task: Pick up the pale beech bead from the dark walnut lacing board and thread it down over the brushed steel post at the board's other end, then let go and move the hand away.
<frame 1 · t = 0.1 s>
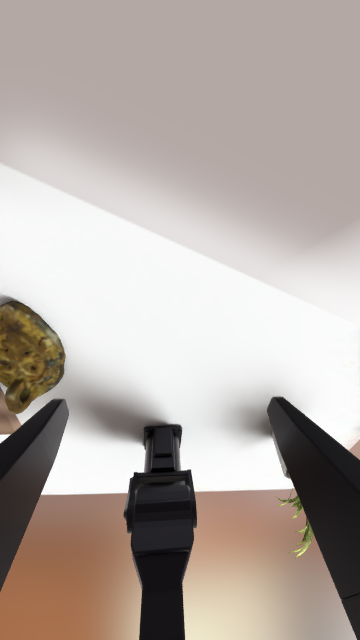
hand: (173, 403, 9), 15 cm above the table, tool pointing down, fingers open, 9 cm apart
olive gold carved ornament: (28, 351, 25), on the table
house plant: (279, 428, 37), on the table
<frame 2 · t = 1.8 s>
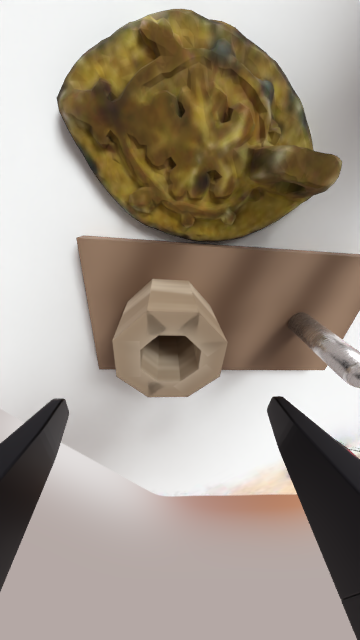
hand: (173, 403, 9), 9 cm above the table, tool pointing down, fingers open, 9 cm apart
lacing board: (225, 312, 17), on the table
olive gold carved ornament: (197, 156, 12), on the table
steel post: (290, 314, 18), resting on lacing board
beech bead: (168, 317, 15), point 1 cm above the table, touching lacing board
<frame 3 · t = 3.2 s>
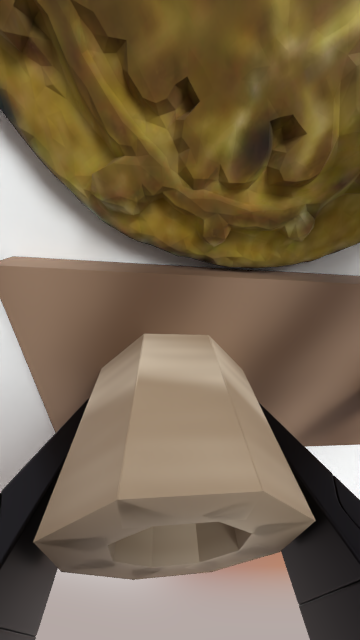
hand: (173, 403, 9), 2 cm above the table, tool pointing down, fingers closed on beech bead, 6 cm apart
lacing board: (262, 371, 11), on the table
olive gold carved ornament: (238, 99, 6), on the table
beech bead: (172, 388, 9), point 1 cm above the table, touching gripper, lacing board
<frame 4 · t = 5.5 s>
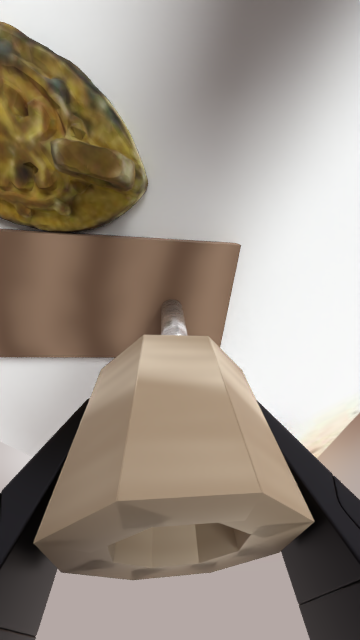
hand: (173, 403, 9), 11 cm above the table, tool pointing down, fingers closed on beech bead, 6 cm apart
lacing board: (104, 301, 17), on the table
olive gold carved ornament: (33, 150, 13), on the table
steel post: (171, 303, 18), resting on lacing board
beech bead: (172, 389, 9), point 10 cm above the table, touching gripper
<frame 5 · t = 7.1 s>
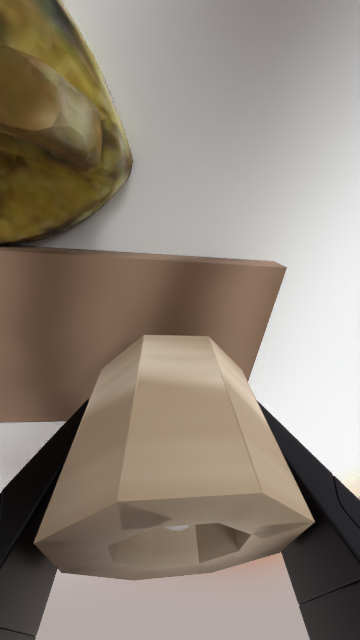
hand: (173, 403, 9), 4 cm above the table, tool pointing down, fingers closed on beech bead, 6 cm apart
lacing board: (69, 344, 12), on the table
beech bead: (172, 389, 9), point 3 cm above the table, touching gripper
when the fingers open (4 cm above the table, at t = 8.0 s): beech bead drops 2 cm, resting on lacing board.
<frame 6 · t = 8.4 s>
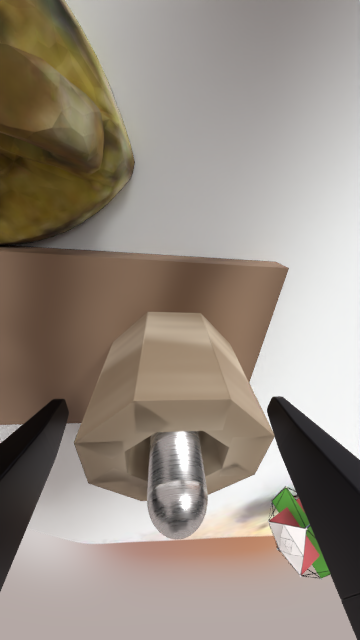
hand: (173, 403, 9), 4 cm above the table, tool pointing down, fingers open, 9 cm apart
lacing board: (68, 346, 11), on the table
geometric puzzle: (286, 491, 25), on the table
steel post: (170, 347, 12), resting on lacing board
beech bead: (171, 361, 11), point 1 cm above the table, touching lacing board
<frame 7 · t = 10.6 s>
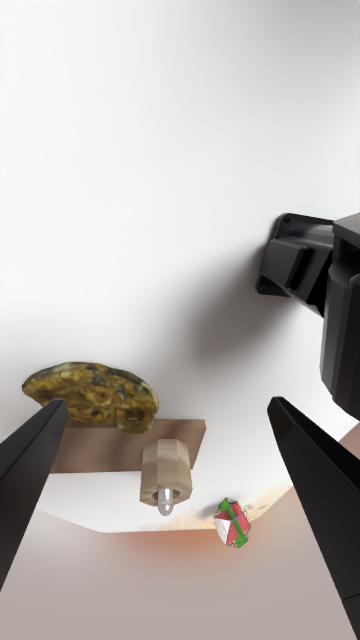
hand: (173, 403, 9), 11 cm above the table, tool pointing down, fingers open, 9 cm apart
lacing board: (123, 443, 28), on the table
olive gold carved ornament: (98, 389, 23), on the table
geometric puzzle: (227, 500, 43), on the table
steel post: (164, 442, 29), resting on lacing board
beech bead: (165, 451, 28), point 1 cm above the table, touching lacing board
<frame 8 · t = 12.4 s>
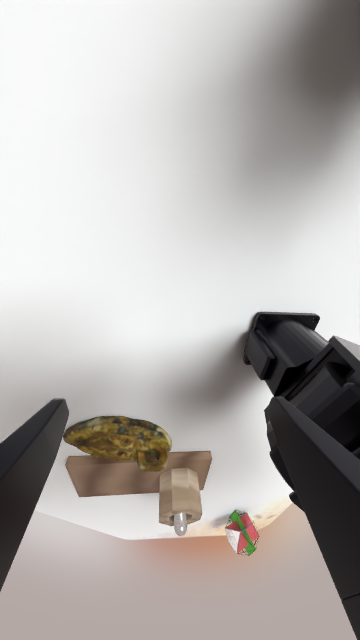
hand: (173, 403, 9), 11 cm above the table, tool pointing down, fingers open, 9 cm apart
lacing board: (142, 470, 33), on the table
olive gold carved ornament: (121, 432, 29), on the table
geometric puzzle: (237, 511, 47), on the table
steel post: (177, 469, 34), resting on lacing board
beech bead: (178, 477, 33), point 1 cm above the table, touching lacing board
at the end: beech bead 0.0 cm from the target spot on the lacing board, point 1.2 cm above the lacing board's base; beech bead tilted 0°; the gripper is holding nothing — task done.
